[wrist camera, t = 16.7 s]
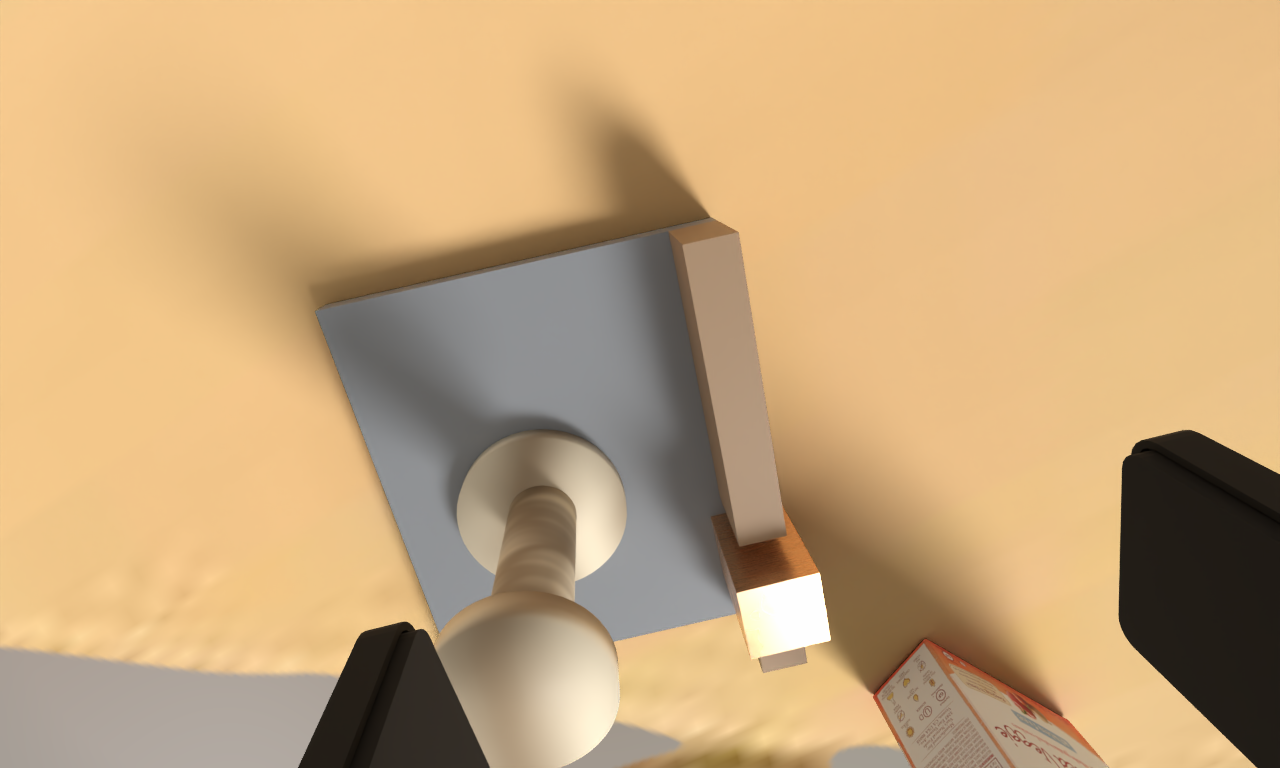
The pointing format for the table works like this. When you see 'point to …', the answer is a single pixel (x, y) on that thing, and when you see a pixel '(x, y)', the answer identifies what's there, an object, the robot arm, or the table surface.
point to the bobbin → (536, 600)
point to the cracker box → (973, 719)
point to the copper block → (773, 590)
